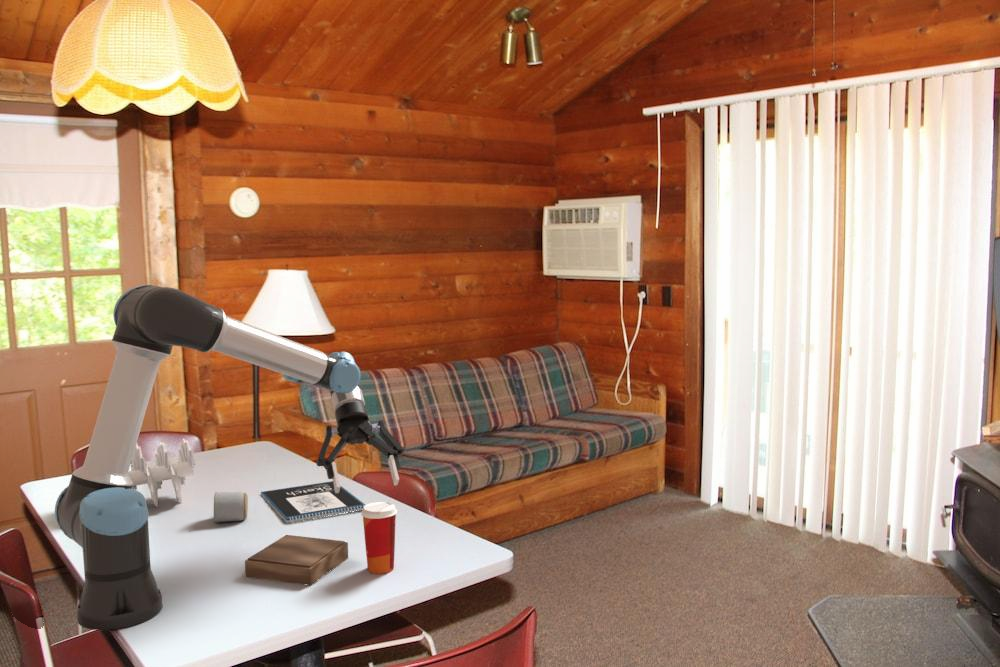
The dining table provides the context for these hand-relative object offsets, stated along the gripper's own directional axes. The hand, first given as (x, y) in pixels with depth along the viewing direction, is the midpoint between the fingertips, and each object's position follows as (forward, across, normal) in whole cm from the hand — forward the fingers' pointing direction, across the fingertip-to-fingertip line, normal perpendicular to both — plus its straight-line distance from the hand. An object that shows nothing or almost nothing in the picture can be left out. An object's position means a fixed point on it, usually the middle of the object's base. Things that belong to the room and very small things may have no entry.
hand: (367, 486), depth 192 cm
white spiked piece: (-31, +47, -54) cm, 77 cm away
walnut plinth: (+12, +16, -10) cm, 23 cm away
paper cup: (+18, 0, -4) cm, 19 cm away
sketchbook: (-19, +5, -43) cm, 47 cm away
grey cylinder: (-16, +27, -39) cm, 50 cm away
